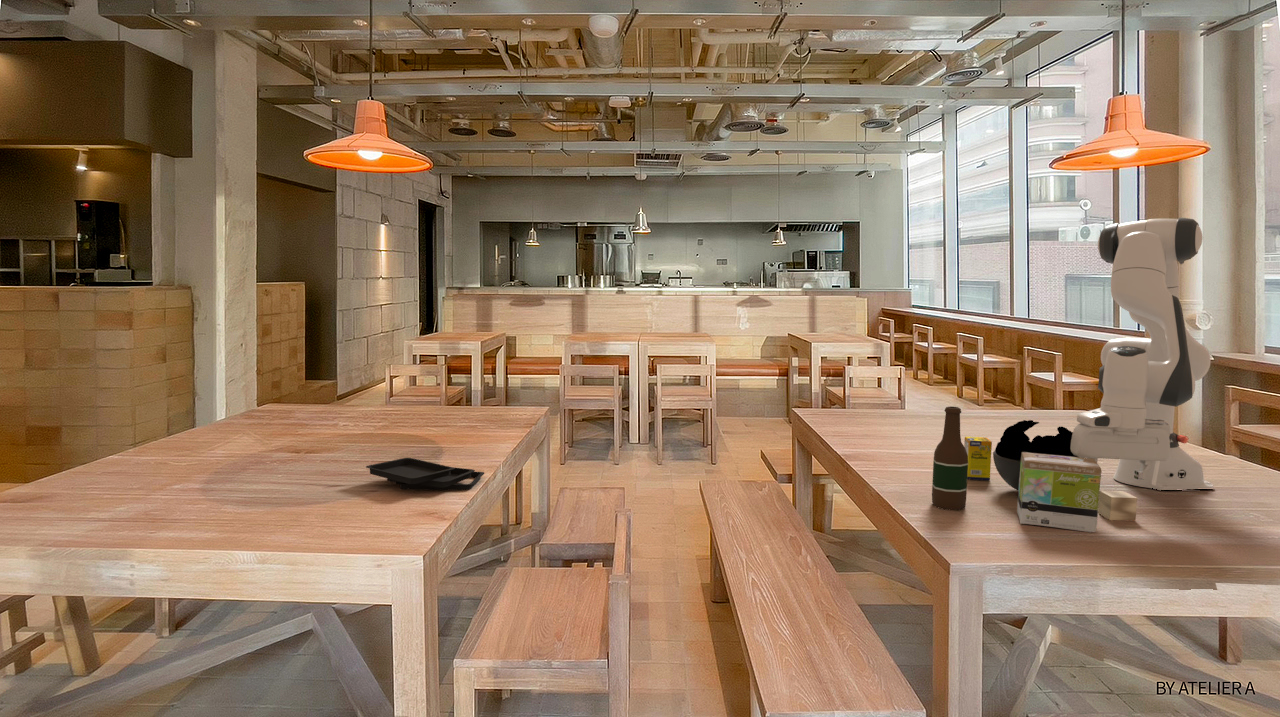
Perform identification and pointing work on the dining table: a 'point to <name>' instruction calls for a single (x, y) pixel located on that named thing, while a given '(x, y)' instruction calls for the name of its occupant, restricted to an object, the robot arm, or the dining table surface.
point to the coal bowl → (1027, 449)
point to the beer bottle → (950, 465)
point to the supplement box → (978, 457)
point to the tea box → (1059, 491)
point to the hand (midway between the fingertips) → (1117, 478)
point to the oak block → (1117, 505)
